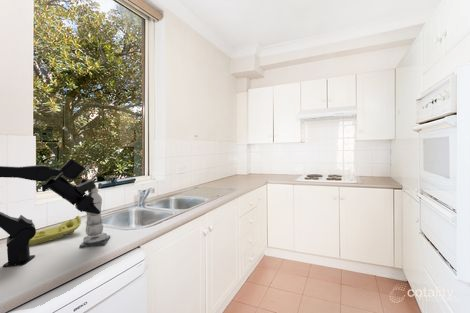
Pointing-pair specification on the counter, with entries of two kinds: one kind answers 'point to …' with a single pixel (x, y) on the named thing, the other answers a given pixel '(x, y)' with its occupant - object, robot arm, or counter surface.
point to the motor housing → (95, 240)
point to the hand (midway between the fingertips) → (97, 211)
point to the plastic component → (55, 231)
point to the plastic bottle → (94, 215)
